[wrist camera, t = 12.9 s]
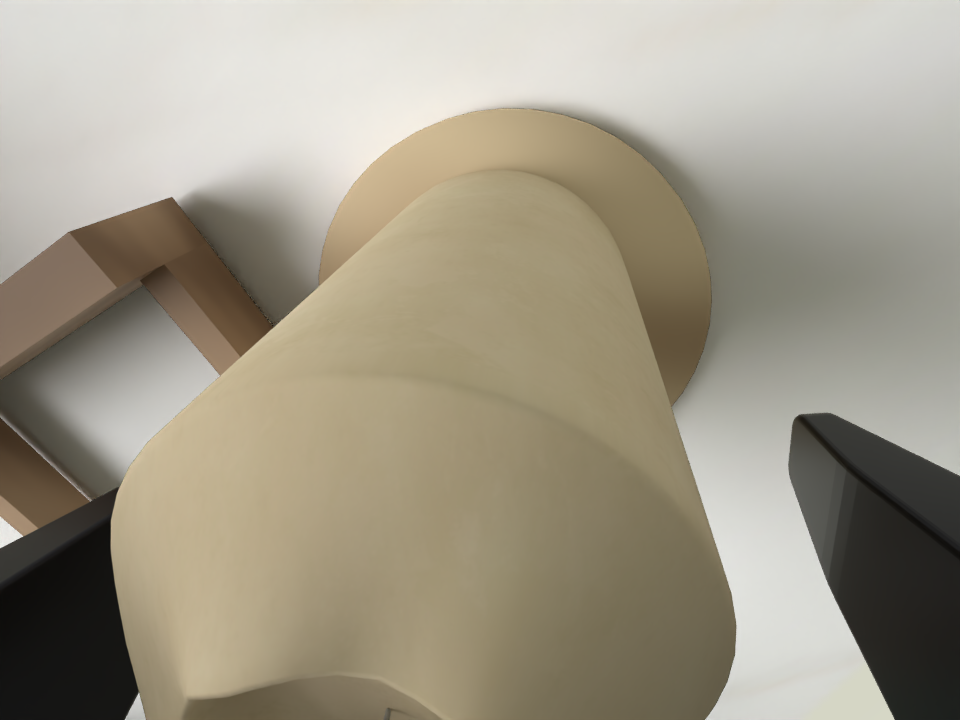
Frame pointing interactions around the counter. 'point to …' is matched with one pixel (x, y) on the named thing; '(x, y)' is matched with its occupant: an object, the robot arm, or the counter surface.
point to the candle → (433, 494)
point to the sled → (90, 291)
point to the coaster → (577, 167)
